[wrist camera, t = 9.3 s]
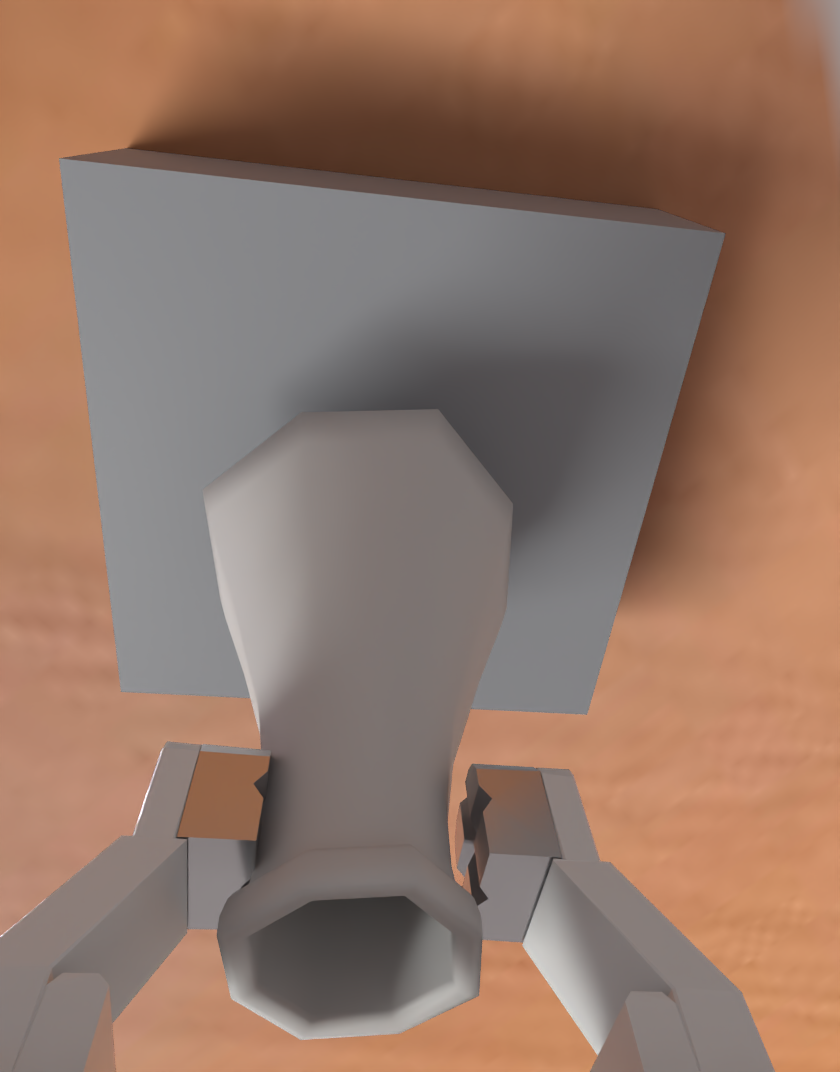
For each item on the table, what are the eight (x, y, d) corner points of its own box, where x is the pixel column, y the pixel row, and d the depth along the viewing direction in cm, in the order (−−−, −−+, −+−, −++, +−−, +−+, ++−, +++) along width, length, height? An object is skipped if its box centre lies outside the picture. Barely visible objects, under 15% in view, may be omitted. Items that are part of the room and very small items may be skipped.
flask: (465, 351, 15) (584, 656, 7) (549, 618, 19) (699, 1048, 10) (147, 462, 16) (-113, 862, 8) (283, 699, 20) (214, 1161, 11)
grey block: (652, 207, 21) (725, 233, 16) (554, 619, 27) (587, 714, 23) (131, 147, 19) (59, 158, 15) (164, 595, 26) (121, 691, 22)
